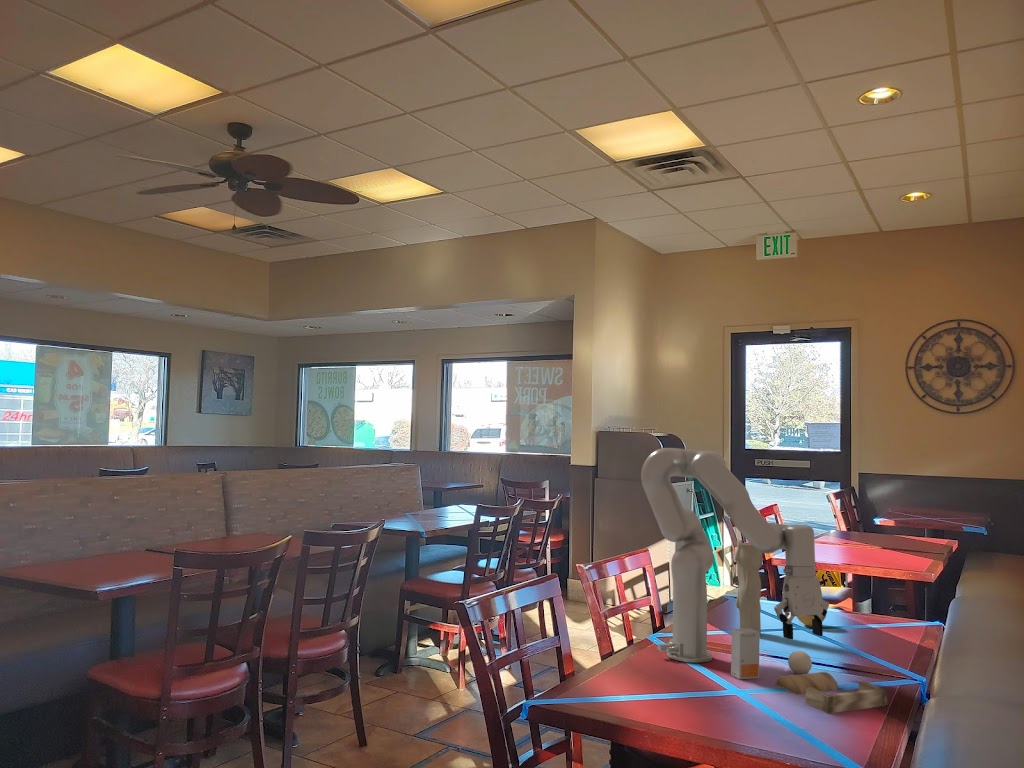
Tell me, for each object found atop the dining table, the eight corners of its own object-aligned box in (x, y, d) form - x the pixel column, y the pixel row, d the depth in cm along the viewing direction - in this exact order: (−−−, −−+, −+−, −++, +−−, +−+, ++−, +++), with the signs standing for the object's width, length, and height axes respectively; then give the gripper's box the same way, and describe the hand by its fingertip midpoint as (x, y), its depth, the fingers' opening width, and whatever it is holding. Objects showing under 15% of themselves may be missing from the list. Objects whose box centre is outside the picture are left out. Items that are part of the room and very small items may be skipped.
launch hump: (796, 715, 190) (796, 681, 191) (775, 704, 198) (775, 672, 198) (838, 709, 195) (838, 677, 195) (816, 699, 202) (816, 668, 203)
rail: (827, 713, 178) (827, 697, 178) (805, 702, 184) (805, 687, 185) (887, 705, 184) (887, 690, 184) (863, 696, 191) (863, 681, 191)
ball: (798, 678, 204) (798, 654, 204) (783, 671, 209) (783, 648, 210) (817, 676, 206) (816, 653, 206) (801, 669, 211) (801, 647, 212)
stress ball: (797, 624, 268) (784, 608, 263) (813, 602, 270) (800, 585, 266) (820, 636, 259) (807, 619, 255) (837, 613, 261) (823, 596, 257)
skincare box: (739, 680, 201) (739, 632, 202) (730, 675, 205) (730, 628, 206) (760, 678, 203) (760, 631, 204) (750, 673, 207) (751, 627, 208)
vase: (732, 634, 248) (732, 539, 250) (738, 629, 256) (739, 536, 258) (759, 638, 244) (759, 541, 246) (765, 632, 251) (765, 539, 253)
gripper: (783, 575, 203) (786, 642, 201) (836, 571, 209) (839, 636, 207) (765, 571, 210) (767, 636, 208) (816, 567, 216) (818, 630, 214)
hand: (803, 636), depth 208 cm, fingers open, 9 cm apart
